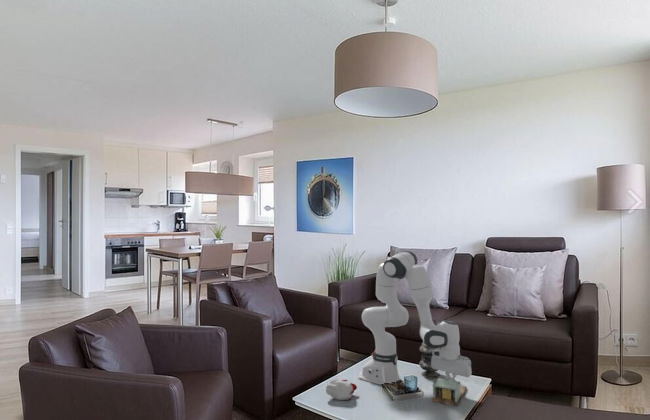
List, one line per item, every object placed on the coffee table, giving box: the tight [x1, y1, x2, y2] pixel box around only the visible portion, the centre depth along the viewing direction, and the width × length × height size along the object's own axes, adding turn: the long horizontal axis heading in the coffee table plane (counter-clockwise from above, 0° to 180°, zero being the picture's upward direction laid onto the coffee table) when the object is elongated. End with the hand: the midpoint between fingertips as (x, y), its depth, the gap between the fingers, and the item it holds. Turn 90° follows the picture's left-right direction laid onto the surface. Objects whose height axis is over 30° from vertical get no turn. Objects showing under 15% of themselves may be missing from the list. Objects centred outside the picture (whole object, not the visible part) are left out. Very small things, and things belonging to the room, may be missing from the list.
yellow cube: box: [442, 388, 451, 399], centre depth 201 cm, size 4×4×4 cm
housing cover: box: [432, 377, 461, 402], centre depth 201 cm, size 11×9×6 cm
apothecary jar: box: [419, 340, 441, 379], centre depth 233 cm, size 12×12×18 cm
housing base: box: [431, 385, 467, 407], centre depth 206 cm, size 12×22×4 cm, turn 151°
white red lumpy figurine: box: [325, 378, 358, 401], centre depth 205 cm, size 9×11×15 cm
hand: (451, 381), depth 210 cm, fingers closed
